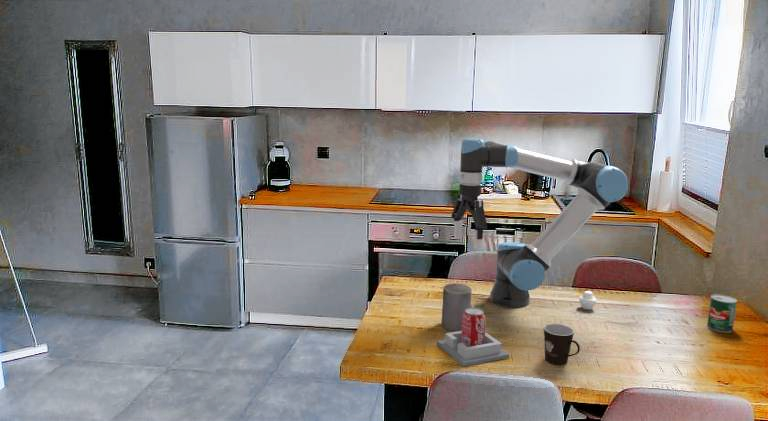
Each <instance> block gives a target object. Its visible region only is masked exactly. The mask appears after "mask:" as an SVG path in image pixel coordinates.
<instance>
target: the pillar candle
mask: <svg viewBox="0 0 768 421" xmlns="http://www.w3.org/2000/svg"><path fill="white" fill-rule="evenodd" d="M472 290H473V289H472V288H471V287H470V285H468V284H463V283H448V284H445V285H444V286H443V290H442V307H441V308H442V309H441V310H442V311H441V326H442V328H444V329H446V330H449V331H451V332H457V331H462V319H463V314H464V313H465V309H467V308H472V302H471V301H472Z"/></svg>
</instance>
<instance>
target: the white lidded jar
mask: <svg viewBox="0 0 768 421" xmlns="http://www.w3.org/2000/svg"><path fill="white" fill-rule="evenodd" d="M578 300H579V303H580V305H581V308H582V309H583V310H585V311H591V310H592V309H593V307H594V306H595V305H596V303H597V298H596V297H595V296H594V292H592V291H590V290H584V292H583V293H582V294H581V295H580V296H579V298H578Z"/></svg>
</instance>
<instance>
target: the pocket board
mask: <svg viewBox="0 0 768 421" xmlns="http://www.w3.org/2000/svg"><path fill="white" fill-rule="evenodd" d="M444 334H445V336H444V337H445V338H444V339H441V340H440V339H439V340H437V346H438V347H440V348H441V349H443V351H444V352H446V353H447V354H448V355H449V356H450V357H452V359H454V360H455V361H456V362H457V363H459V364H460V365H461V366H462V367H468V366H474V365H479V364H484V363H489V362H494V361H498V360H504V359H509V358H510V354H509V353H508V352H507V351H505V350H504V349H502V342H500V341H499V340H498V339H496V338H494V337H493V335H491V334H489V333H487V332H486V331H485V338H484V344H482V345H476V346H471V347H467V346H466V345H464V344H463V343H462V340H461V337H462V331H451V332H447V333H444Z"/></svg>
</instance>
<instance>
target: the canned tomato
mask: <svg viewBox="0 0 768 421" xmlns="http://www.w3.org/2000/svg"><path fill="white" fill-rule="evenodd" d="M709 300H710V303H709V309H708V314H707V324H706V327H707V328H708V329H710V330H712V331H715V332H719V333H723V334H724V333H726V334H727V333H728V334H729V333H732V332H733V330H734V325H735V318H736V313H737V312H736V311H737V304H738V300H737V299H736V298H735V297H733V296H729V295H725V294H718V293H717V294H711V296H710V299H709Z"/></svg>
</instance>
